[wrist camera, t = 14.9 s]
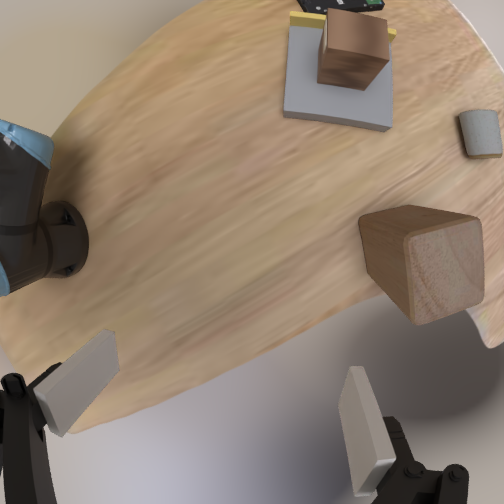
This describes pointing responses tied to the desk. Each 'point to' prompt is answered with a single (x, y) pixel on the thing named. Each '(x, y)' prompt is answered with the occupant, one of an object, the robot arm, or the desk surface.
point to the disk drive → (340, 5)
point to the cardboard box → (352, 49)
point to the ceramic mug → (481, 134)
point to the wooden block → (425, 259)
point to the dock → (327, 96)
